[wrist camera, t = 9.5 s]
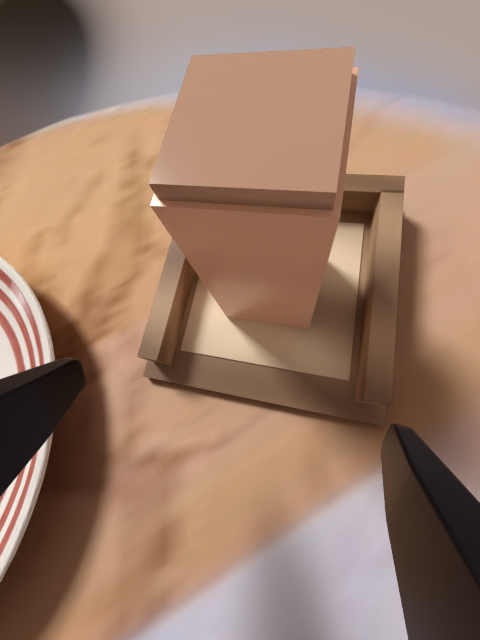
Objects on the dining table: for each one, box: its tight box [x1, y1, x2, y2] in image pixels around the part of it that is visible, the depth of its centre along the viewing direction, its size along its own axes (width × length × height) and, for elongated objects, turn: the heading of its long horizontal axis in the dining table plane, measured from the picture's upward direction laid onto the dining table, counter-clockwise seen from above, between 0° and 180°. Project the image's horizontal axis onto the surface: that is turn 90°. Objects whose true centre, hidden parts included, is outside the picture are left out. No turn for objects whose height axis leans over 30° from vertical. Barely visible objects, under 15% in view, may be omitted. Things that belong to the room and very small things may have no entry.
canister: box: [149, 47, 358, 329], centre depth 12 cm, size 5×5×11 cm
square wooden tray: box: [137, 174, 405, 427], centre depth 17 cm, size 14×14×3 cm
